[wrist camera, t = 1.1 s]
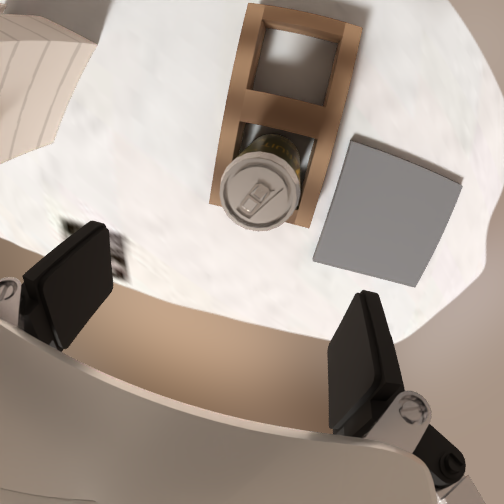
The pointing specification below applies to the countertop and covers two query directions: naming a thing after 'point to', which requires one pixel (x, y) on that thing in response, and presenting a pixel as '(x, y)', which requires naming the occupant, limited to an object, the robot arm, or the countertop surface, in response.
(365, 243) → the rubber mat
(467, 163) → the countertop surface
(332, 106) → the can holder
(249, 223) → the beer can
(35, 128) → the pizza boxes
